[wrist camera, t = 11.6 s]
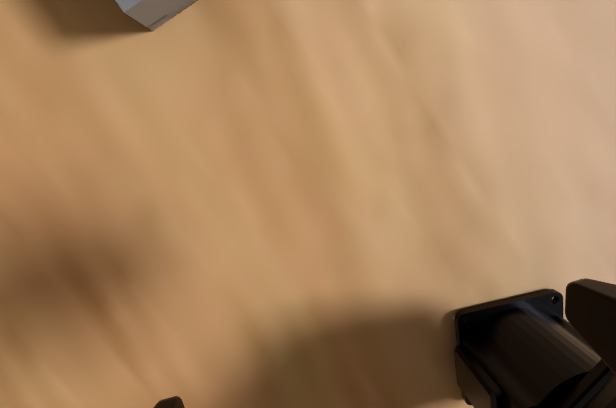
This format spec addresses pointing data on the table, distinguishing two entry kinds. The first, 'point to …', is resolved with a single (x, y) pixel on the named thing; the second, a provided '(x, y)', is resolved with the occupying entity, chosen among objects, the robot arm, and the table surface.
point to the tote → (153, 10)
